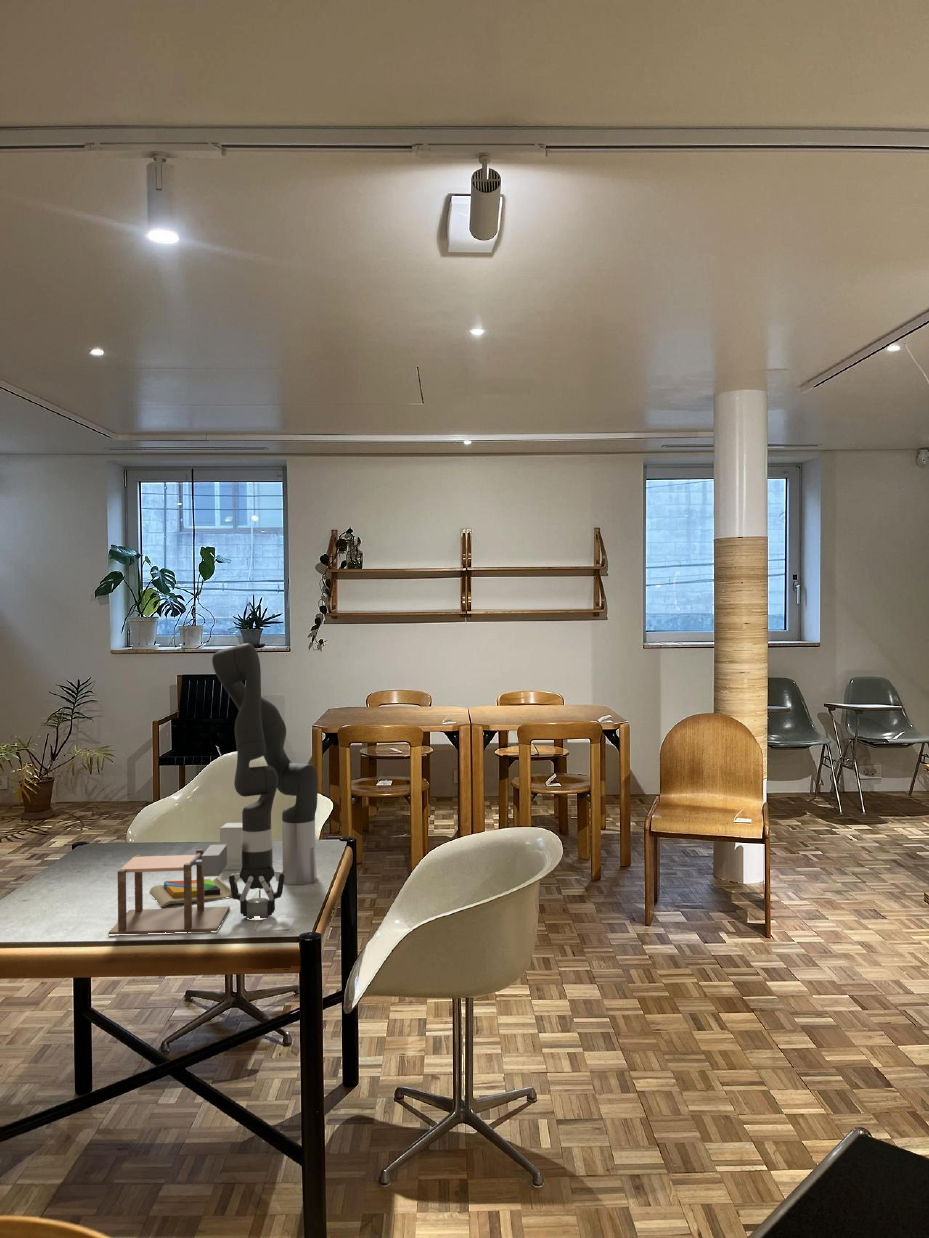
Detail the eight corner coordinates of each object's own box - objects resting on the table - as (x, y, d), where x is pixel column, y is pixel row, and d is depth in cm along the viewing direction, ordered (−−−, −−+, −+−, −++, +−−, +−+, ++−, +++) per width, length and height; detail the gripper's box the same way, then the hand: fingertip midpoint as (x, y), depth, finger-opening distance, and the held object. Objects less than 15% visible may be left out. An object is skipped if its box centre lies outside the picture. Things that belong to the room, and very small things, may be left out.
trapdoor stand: (229, 910, 236) (229, 847, 236) (217, 932, 219) (216, 864, 219) (129, 913, 234) (128, 850, 234) (108, 936, 217) (107, 868, 217)
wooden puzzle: (234, 899, 247) (234, 885, 247) (162, 910, 238) (162, 897, 238) (217, 883, 262) (217, 871, 262) (148, 894, 253) (148, 881, 253)
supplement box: (244, 869, 275) (243, 827, 275) (219, 870, 275) (218, 827, 275) (250, 863, 282) (249, 822, 282) (226, 863, 282) (225, 822, 282)
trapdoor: (227, 863, 233) (227, 843, 233) (218, 876, 221) (218, 855, 221) (134, 866, 231) (133, 846, 231) (120, 879, 219) (119, 858, 219)
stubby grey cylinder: (270, 913, 233) (270, 897, 233) (267, 920, 227) (267, 904, 227) (248, 914, 232) (248, 898, 232) (244, 921, 227) (244, 904, 227)
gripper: (287, 842, 234) (288, 909, 234) (230, 844, 233) (230, 911, 233) (284, 849, 227) (285, 918, 226) (224, 851, 225) (225, 920, 225)
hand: (257, 914), depth 230 cm, fingers closed on stubby grey cylinder, 5 cm apart
